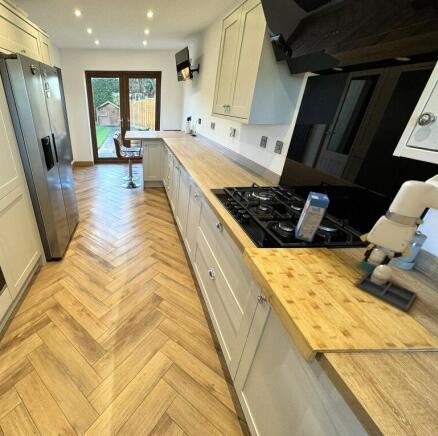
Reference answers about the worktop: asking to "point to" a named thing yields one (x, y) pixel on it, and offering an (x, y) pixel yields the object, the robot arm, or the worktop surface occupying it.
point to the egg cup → (367, 266)
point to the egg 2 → (381, 274)
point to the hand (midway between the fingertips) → (374, 261)
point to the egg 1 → (376, 257)
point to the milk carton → (311, 216)
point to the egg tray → (388, 292)
